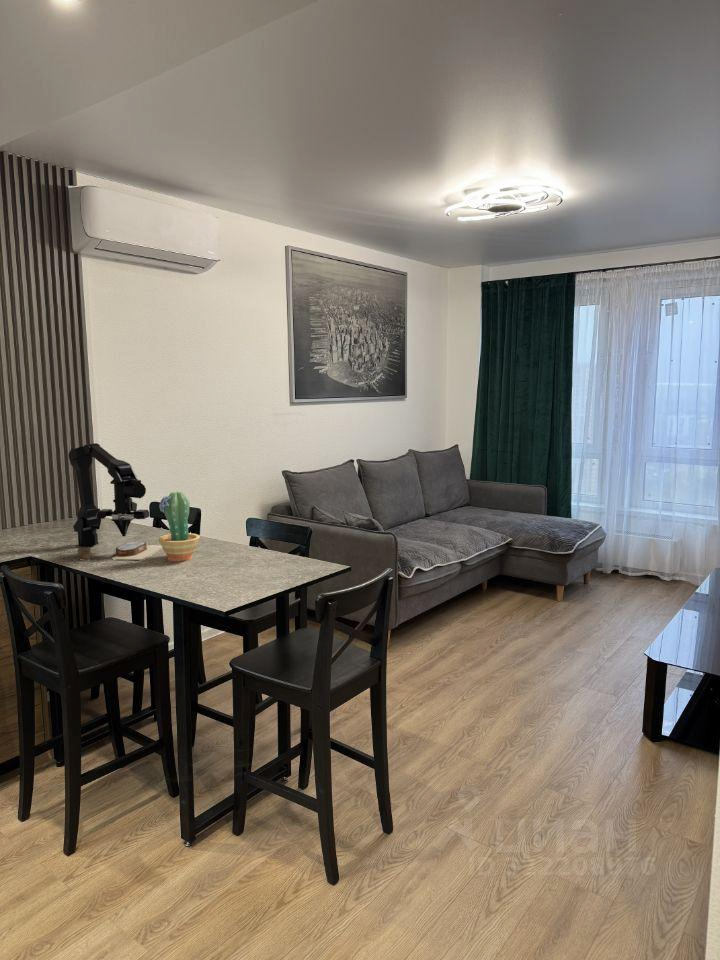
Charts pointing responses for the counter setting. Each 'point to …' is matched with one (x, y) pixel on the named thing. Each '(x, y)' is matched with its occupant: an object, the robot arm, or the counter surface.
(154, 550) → the mat
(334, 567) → the counter surface
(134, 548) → the tin
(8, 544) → the counter surface
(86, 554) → the walnut block
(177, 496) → the potted cactus
